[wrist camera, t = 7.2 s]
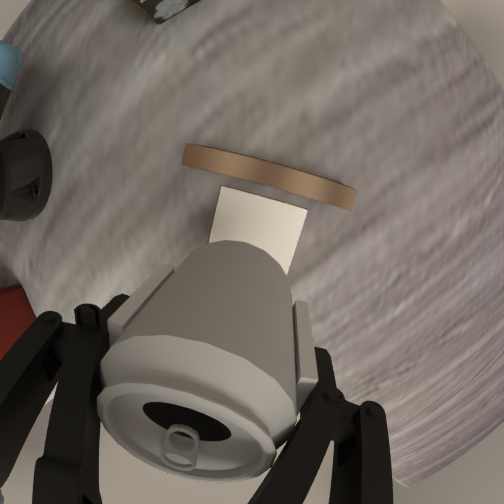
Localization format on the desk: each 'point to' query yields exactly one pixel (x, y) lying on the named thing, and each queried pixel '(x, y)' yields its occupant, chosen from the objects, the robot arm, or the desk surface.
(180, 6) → the chalk box
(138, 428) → the can
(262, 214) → the pad
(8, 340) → the plant pot
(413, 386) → the desk surface
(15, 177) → the robot arm
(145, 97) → the desk surface
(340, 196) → the walnut plank
